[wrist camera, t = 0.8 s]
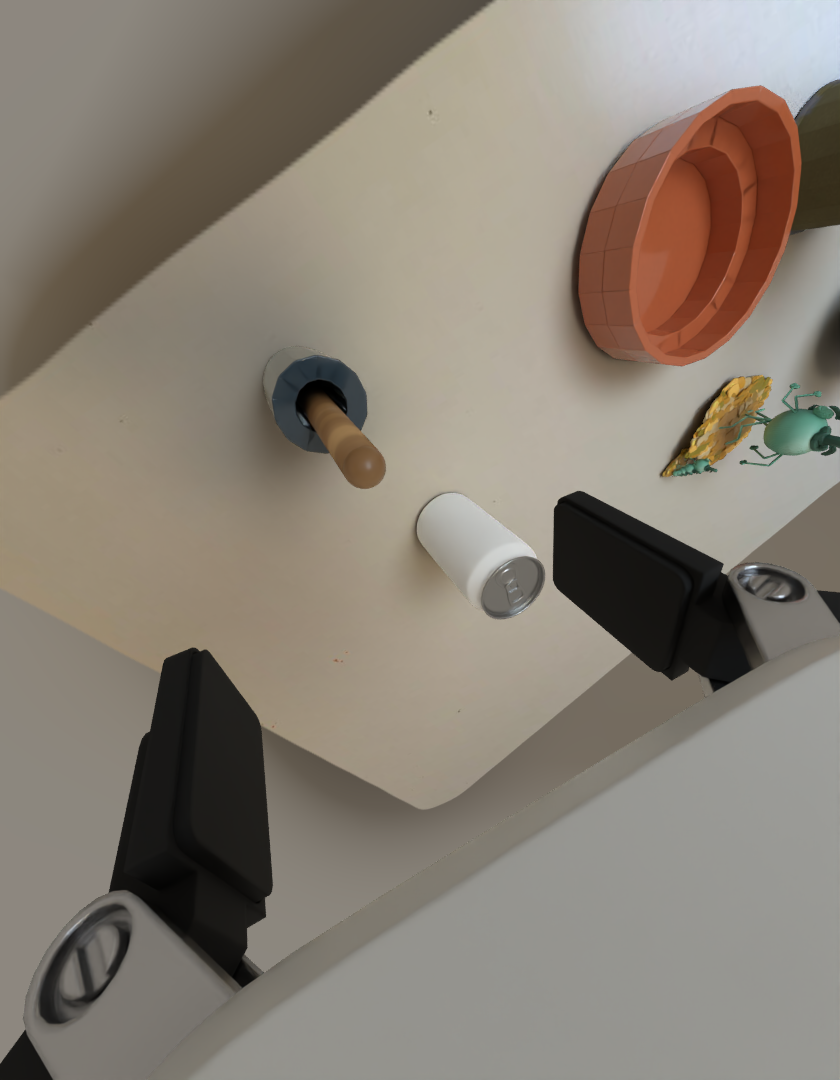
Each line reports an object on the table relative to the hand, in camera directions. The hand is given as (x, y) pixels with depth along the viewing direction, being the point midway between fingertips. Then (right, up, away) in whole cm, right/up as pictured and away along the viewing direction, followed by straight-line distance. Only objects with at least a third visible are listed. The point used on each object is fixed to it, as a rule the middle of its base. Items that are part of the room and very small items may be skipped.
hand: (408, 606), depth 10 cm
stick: (-8, +13, +17) cm, 23 cm away
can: (+3, +4, +29) cm, 29 cm away
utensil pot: (-8, +13, +18) cm, 24 cm away
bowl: (+20, +27, +24) cm, 41 cm away
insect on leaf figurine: (+36, +16, +38) cm, 55 cm away
